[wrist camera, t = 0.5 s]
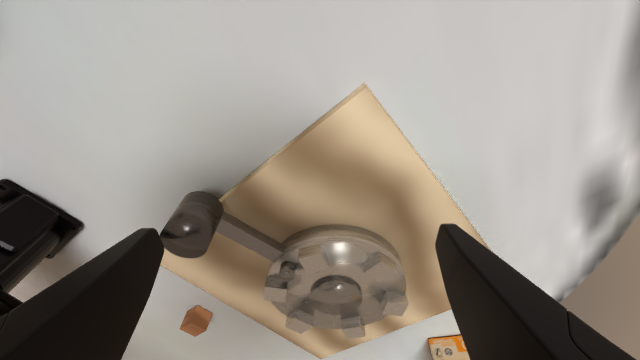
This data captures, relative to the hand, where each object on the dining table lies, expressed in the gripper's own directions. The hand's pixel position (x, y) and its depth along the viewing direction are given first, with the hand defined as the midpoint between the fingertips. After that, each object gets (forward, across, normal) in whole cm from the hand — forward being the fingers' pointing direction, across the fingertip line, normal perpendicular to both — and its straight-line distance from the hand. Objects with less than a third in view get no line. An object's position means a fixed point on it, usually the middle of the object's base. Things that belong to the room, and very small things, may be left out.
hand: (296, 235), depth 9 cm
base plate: (+12, +1, +17) cm, 21 cm away
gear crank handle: (+11, +2, +13) cm, 17 cm away
